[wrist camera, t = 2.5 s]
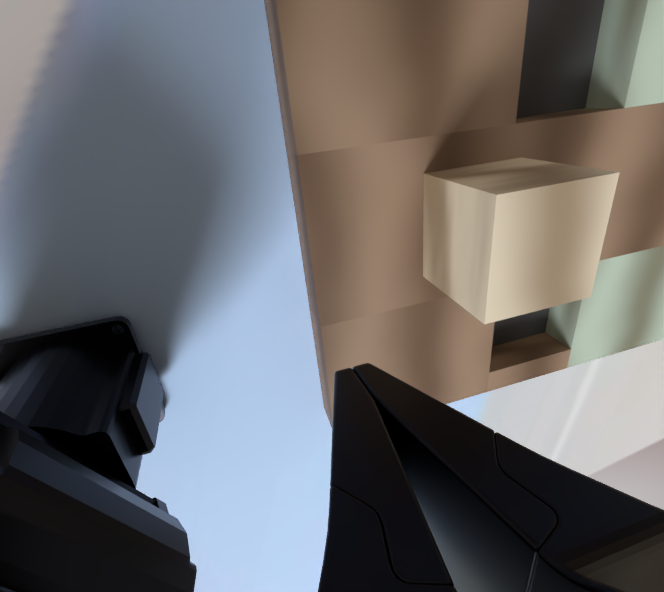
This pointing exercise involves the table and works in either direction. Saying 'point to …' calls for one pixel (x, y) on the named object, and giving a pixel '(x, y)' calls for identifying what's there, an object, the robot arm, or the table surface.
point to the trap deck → (460, 151)
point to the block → (515, 234)
